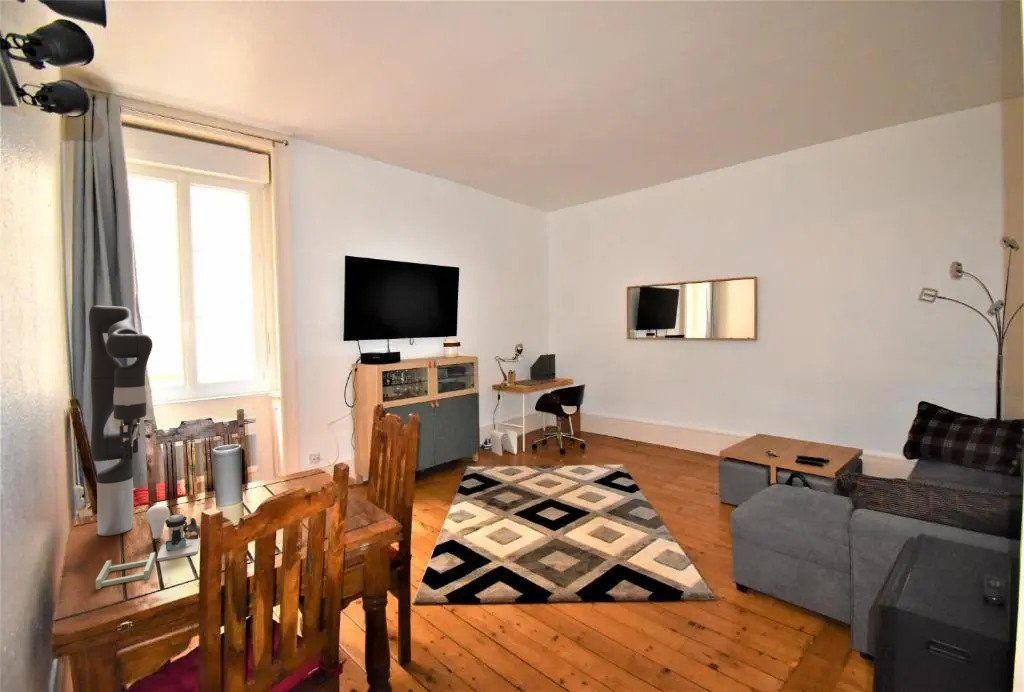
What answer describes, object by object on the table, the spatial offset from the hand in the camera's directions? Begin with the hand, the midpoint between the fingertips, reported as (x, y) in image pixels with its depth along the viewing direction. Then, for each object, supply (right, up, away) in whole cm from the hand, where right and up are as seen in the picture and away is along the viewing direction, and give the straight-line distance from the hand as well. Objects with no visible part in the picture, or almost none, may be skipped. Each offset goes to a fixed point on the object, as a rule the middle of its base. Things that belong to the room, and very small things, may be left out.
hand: (130, 456), depth 140 cm
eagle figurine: (+8, -30, +15) cm, 35 cm away
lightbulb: (-2, -30, +13) cm, 33 cm away
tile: (+11, -30, +5) cm, 32 cm away
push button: (+11, -30, +5) cm, 32 cm away
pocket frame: (+6, -31, -9) cm, 32 cm away
